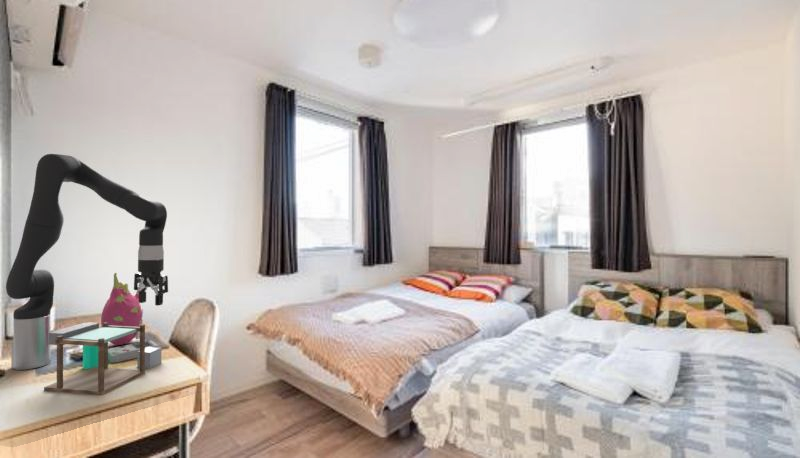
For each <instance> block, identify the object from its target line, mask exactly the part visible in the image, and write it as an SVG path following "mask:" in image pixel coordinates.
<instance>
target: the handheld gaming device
mask: <svg viewBox="0 0 800 458" xmlns="http://www.w3.org/2000/svg"><path fill="white" fill-rule="evenodd" d="M147 347H158V348H159V345H158V344H157V343H156V342H154V341H153V340H145V348H147ZM138 351H140V342H136V343H131V344H125V345H121V346H115V347H110V348H109V347H108V362H109V363H119V362H123V361H128V360H132V359H137V352H138Z"/></svg>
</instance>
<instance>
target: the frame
mask: <svg viewBox="0 0 800 458" xmlns="http://www.w3.org/2000/svg"><path fill="white" fill-rule="evenodd" d="M103 327H110V328H127V329H136V331H140V337H139V343H140V367H139V369H133V368H132V369H131V368H119V367H118V368H117V367H109V360H108V349H109V342H107V343H104V338H100V339H98V341H91V340H74V339H68V338H70V337H73V336H70V337H67V338H64V339H63V336H57V339H56V340H55V344H57V345H56V382H54V383H51V384H48V385H46V386H44V388H43V389H44V390H43V391H44V392H45V391H47V392H57V393H58V392H59V393H67V394H68V393H69V394H71V393H72V394H83V395H94V396H95V395H96V396H102V395H105V394H107V393H109V392H111V391H112V390H114V389H116V388H119V387H121V386H123V385H124V384H126V383H129V382H131V381H132V380H135V379H137V378H138V377H141V376H143V375H145V374H146V368H145V341H146V324H143V323H142V325H140V327H132V326H114V325H108V323H107V322H105V323H103V325H102V326H99V328H103ZM99 328H97V329H99ZM93 330H96V329H93ZM93 330H90V331H93ZM90 331H87V332H90ZM84 333H86V332H84ZM80 334H83V333H80ZM80 334H77V335H80ZM74 336H76V335H74ZM63 344H65V345H71V346H83V345H86V346H98V367H92V368H90V369H84V371H80V372H78V373H76V374H73V375H71V376H69V377H65V378H64V345H63Z"/></svg>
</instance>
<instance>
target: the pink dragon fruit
mask: <svg viewBox="0 0 800 458" xmlns="http://www.w3.org/2000/svg"><path fill="white" fill-rule="evenodd" d="M143 309H144V308H143ZM143 309H142V306H141V303H139V292H137V291H136V293H135V295H133V294H132V293H131V291H130V290H129V284H128V283H123V282H119V279H118V276H117V272H114V273H113V286H112V290H111V292H110V294H109V298H108V299H107V300H106V303H105V304H104V307H103V308H102V312H101V317H100V318H101V319H100V325H101V326H102V325H103V323H105V322H107V323H108V325H114V326H132V327H140V325H142V324H143V321H144V320H143V315H144V312H143V311H144V310H143ZM101 326H100V327H101ZM133 339H135V340H139V339H140V331H136V332H135V333H132V334H129V335H126V336H124V337H121V338H118V339H115V340H112V341H109V342H108V343H110V344H112V345H114V346H117V345H121V346H123V345H122V344H125V345H127V344H128V343H130V342H131V341H133ZM126 343H127V344H126Z"/></svg>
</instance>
